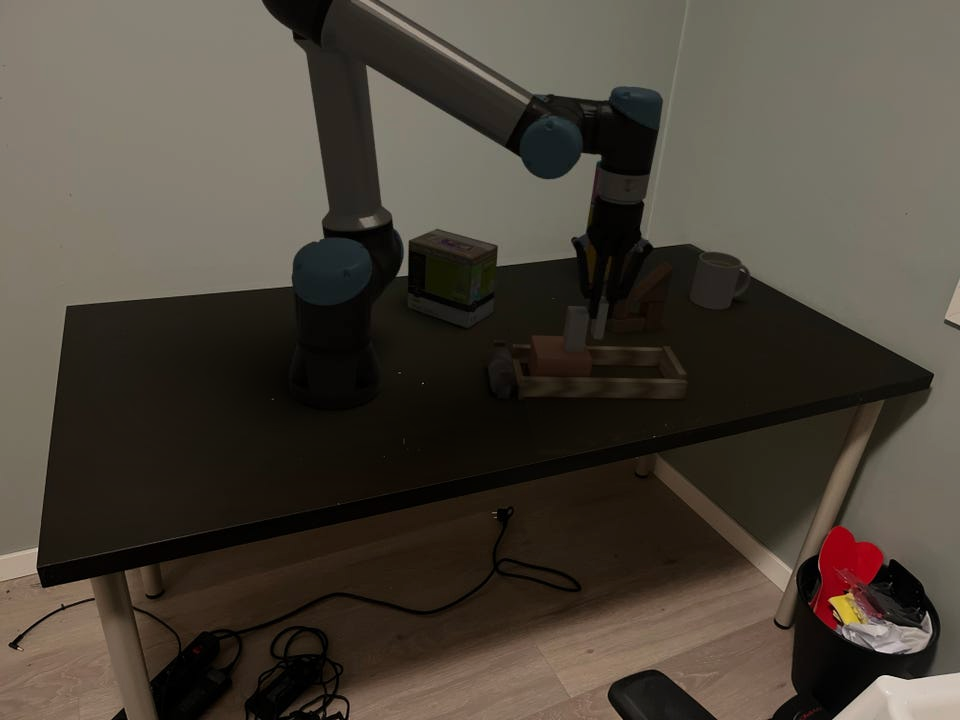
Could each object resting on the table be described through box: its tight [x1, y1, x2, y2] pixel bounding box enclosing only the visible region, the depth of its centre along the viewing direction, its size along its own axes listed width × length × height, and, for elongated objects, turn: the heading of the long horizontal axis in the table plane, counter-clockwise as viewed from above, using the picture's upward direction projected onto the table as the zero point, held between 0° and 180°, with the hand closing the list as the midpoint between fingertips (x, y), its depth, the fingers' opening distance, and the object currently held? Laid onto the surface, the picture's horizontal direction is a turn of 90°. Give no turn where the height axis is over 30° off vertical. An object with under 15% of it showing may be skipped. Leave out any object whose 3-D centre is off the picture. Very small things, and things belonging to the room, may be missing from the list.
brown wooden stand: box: [605, 245, 674, 334], centre depth 138 cm, size 4×11×18 cm, turn 107°
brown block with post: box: [527, 305, 593, 378], centre depth 119 cm, size 9×9×13 cm
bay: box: [485, 339, 688, 402], centre depth 122 cm, size 33×12×5 cm, turn 95°
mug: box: [689, 251, 751, 311], centre depth 155 cm, size 11×10×10 cm
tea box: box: [407, 228, 499, 329], centre depth 141 cm, size 15×10×15 cm, turn 58°
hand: (596, 335), depth 119 cm, fingers closed
